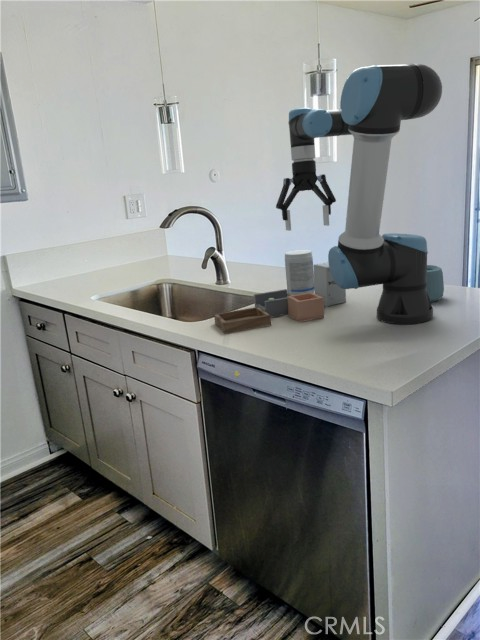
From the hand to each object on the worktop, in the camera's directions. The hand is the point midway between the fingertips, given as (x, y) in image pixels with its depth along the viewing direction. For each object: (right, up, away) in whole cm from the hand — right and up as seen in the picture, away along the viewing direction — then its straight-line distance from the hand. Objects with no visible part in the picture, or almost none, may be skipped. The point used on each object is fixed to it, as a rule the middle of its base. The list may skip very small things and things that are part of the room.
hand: (307, 227), depth 172 cm
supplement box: (+7, -25, -3) cm, 26 cm away
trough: (-22, -32, -18) cm, 42 cm away
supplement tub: (-1, -21, +12) cm, 24 cm away
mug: (+35, -23, -8) cm, 43 cm away
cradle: (-11, -27, -7) cm, 30 cm away
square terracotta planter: (-3, -29, -16) cm, 33 cm away
